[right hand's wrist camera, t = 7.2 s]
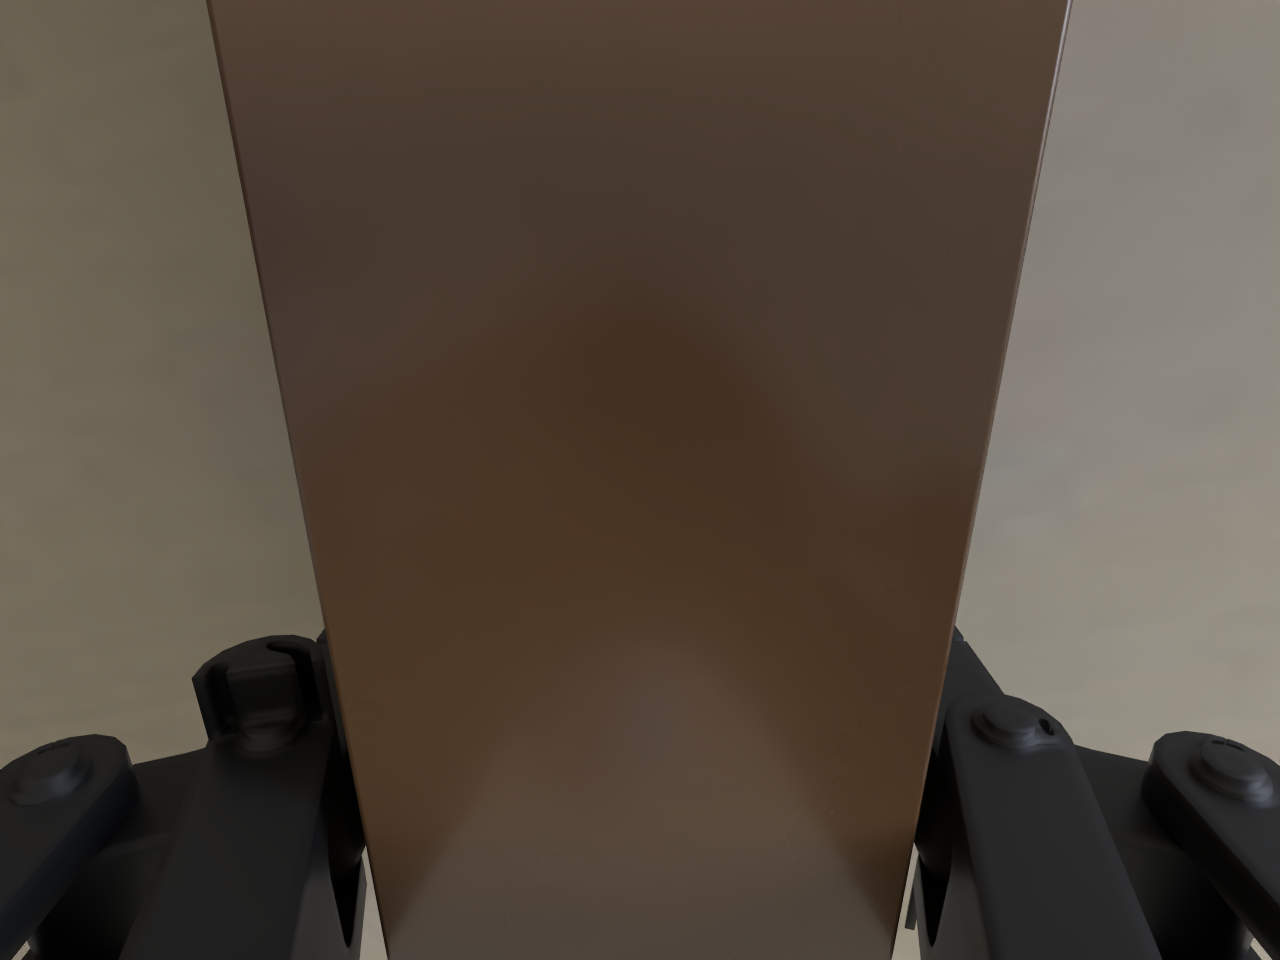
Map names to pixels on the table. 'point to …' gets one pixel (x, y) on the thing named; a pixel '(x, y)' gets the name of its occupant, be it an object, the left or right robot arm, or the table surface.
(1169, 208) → the table surface
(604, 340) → the bar
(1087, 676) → the table surface
